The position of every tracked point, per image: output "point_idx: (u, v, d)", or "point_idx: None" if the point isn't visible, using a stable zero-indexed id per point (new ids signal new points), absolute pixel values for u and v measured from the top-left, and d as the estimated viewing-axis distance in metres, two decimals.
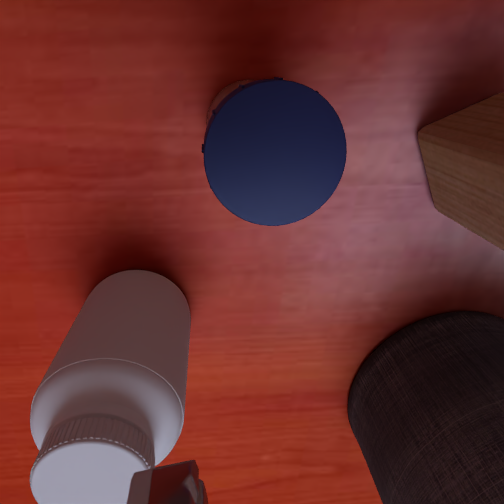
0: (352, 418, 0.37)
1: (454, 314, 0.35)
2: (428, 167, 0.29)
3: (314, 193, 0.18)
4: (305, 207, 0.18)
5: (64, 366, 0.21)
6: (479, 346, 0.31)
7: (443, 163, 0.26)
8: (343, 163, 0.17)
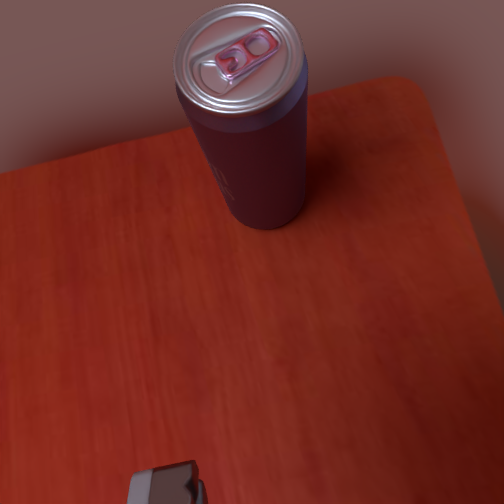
0: None
1: None
2: None
3: None
4: None
5: None
6: None
7: None
8: None
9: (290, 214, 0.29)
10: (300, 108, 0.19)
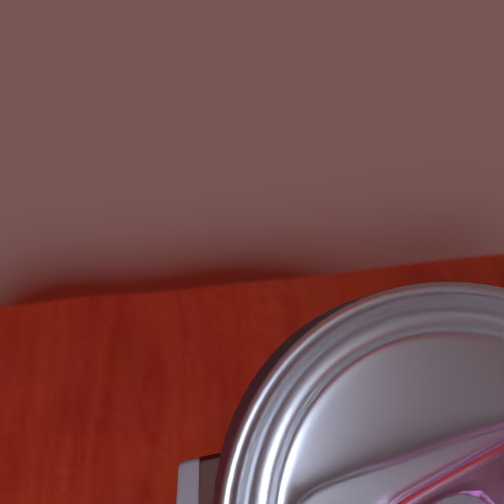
0: None
1: None
2: None
3: None
4: None
5: None
6: None
7: None
8: None
9: None
10: None
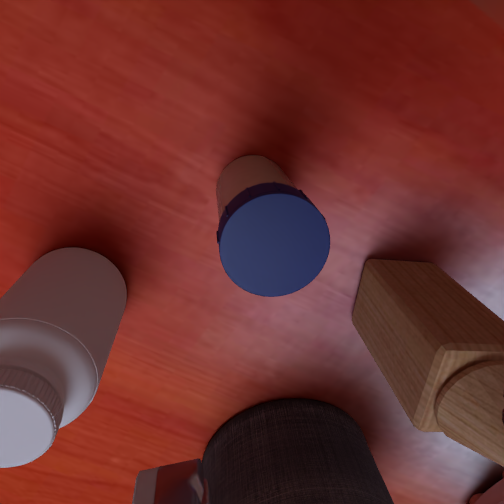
0: (208, 455, 0.41)
1: (326, 405, 0.41)
2: (361, 289, 0.36)
3: (287, 283, 0.23)
4: (276, 289, 0.23)
5: (17, 317, 0.23)
6: (333, 439, 0.37)
7: (373, 293, 0.33)
8: (317, 273, 0.23)
9: None
10: None
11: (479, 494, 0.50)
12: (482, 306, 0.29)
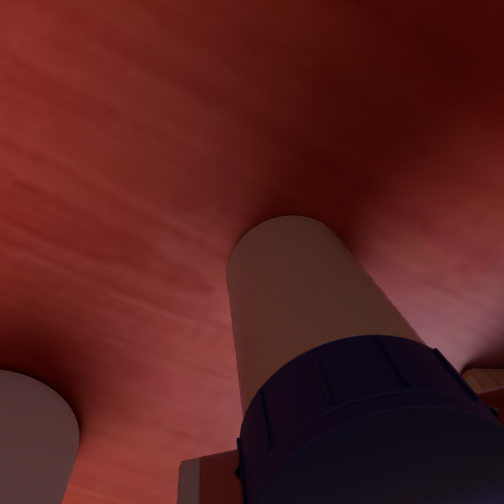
0: None
1: None
2: None
3: None
4: None
5: None
6: None
7: None
8: None
9: None
10: None
11: None
12: None
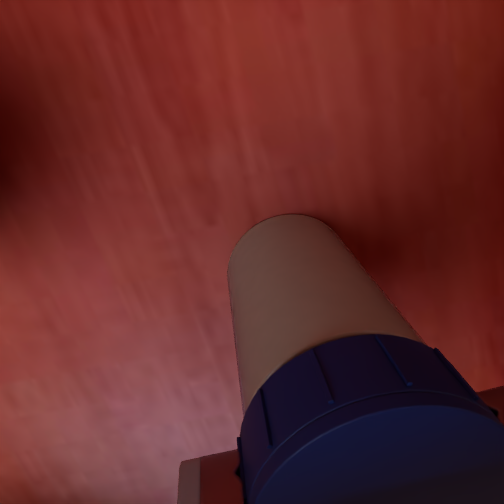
0: None
1: None
2: None
3: None
4: None
5: None
6: None
7: None
8: None
9: None
10: None
11: None
12: None
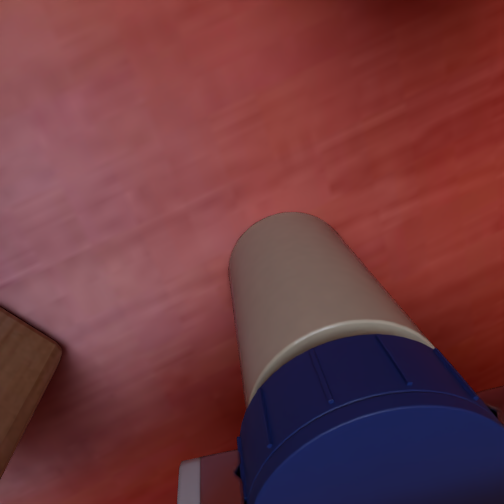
0: None
1: None
2: (11, 327, 0.18)
3: None
4: None
5: None
6: None
7: (5, 372, 0.16)
8: None
9: None
10: None
11: None
12: None
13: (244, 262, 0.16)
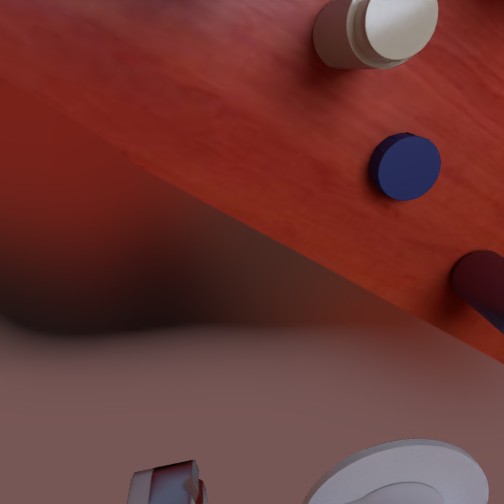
0: None
1: None
2: None
3: (413, 192, 0.39)
4: (406, 196, 0.39)
5: None
6: None
7: None
8: (431, 186, 0.39)
9: (459, 280, 0.44)
10: None
11: None
12: None
13: None
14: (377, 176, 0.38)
